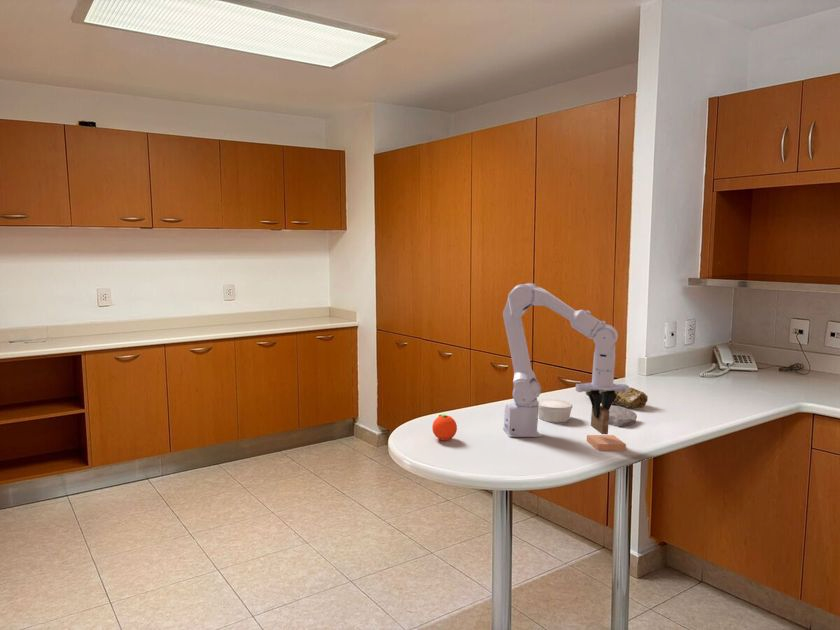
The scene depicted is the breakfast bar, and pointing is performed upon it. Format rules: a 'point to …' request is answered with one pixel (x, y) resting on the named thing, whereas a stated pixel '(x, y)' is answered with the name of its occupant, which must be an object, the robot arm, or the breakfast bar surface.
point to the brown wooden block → (601, 421)
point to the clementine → (444, 427)
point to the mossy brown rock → (630, 398)
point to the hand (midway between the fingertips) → (600, 417)
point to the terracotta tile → (606, 442)
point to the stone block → (621, 416)
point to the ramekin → (554, 410)
